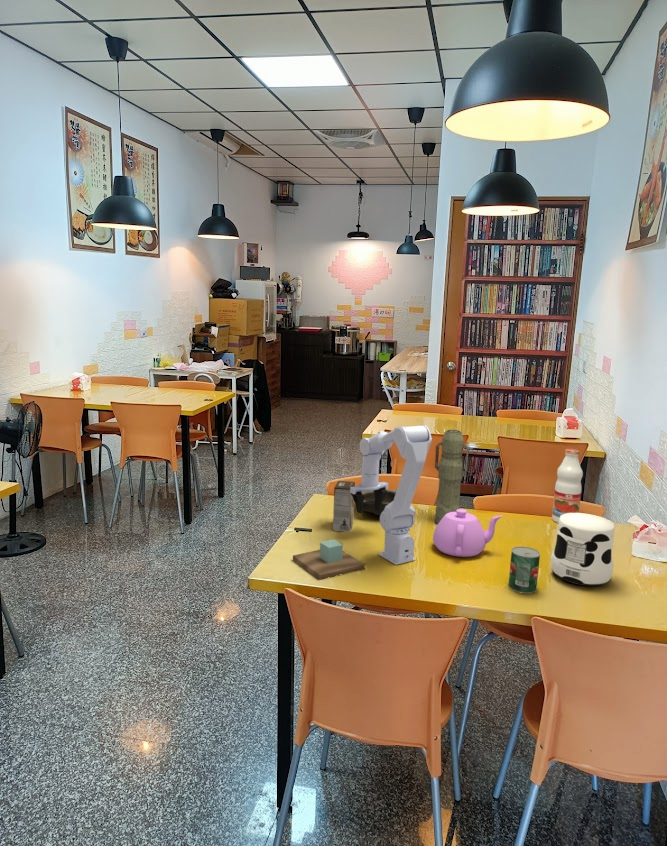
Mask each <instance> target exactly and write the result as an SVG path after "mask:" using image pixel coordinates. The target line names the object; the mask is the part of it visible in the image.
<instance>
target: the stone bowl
mask: <svg viewBox="0 0 667 846" xmlns="http://www.w3.org/2000/svg"><path fill="white" fill-rule="evenodd" d="M385 490H387V491H388V493H387V495H386V496H385V498H384V500H383V502H382V505H381V508H380V510H376V509H375V495H374V490H372V491H366V492H362V495H364V496H365V498H364V501H363V509H362V512H363V511H364V512H368V513H373V514H374V515H379V516H380V515H381V513H382V512H383V511H384V509H385V506H387V505H388V504H390V503H391V502H392V501H394V497H395V494H396V491H397V489H385Z"/></svg>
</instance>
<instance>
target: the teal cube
mask: <svg viewBox="0 0 667 846" xmlns="http://www.w3.org/2000/svg"><path fill="white" fill-rule="evenodd" d="M319 550H320V558H321V559H322V560H324V561H325V562H327V563H328V564H329V563H333V562H337V561H342V554H343V551H344V545H343V544H342V543H340V542H339V541H337V540H336V539H330V540H329V539H328V540H325V541H320V542H319Z"/></svg>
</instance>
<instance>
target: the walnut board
mask: <svg viewBox="0 0 667 846" xmlns="http://www.w3.org/2000/svg"><path fill="white" fill-rule="evenodd" d="M292 561H294V562H295V563H296V564H298V566H299V567H302V569H305V571H307V572H308V573H309V574H311V575H312V576H314V577H315V578H316V579H318V580H319V581H321V580H325V579H328V577H329V578H334V577H337V576H336V575H338V576H341V575H340V574H342V575H345V573H346V574H349V573H353V572H358V571H362V570H365V569H366V563H364V562H362V561H361V560H359V559H358V558H356V557H354V556H353V555H351V554H349V553H348V552H346V551H344V550H343V554H342V561H337V562H333V563H329V564H328V563H327V562H325V561H324V560H322V559H321V558H320V549H318V550H317V549H316V550H313V551H308V552H303V553H299V554H294V555H292ZM333 576H334V577H333Z"/></svg>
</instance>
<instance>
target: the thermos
mask: <svg viewBox="0 0 667 846" xmlns="http://www.w3.org/2000/svg"><path fill="white" fill-rule="evenodd" d="M440 446H441V454H440V455H441V456H440V460H439V453H440ZM464 448H465V449H466V453H465V454H466V455H465V467H464V461H463V451H464ZM469 451H470V448H469V446H468V445H467V444H465V443H464V436H463V432H462V431H460V430H459V429H458V430H457V429H447V430H445V431H444V433H443V436H442V440H441V441H440V442H438V443H437V444H436V446H435V457H434V459H435V460H434V468H435V470H436V471H437V472H438V474H437V477H438V493H437V504H436V507H435V512H434V513H435V515H434V516H435V521H434V522H435V524H436V525H438V523H439V522H440V521H441V519H442V518H443V517H444V516H445V515H446V514H447V513H449V512H456V510H457V509H461V508H460V499H461V497H460V496H461V485H462V484H461V483H462V482H461V481H462V480H463V476H464V475H463V474H467V473H468V472H467V471H468V465H469V453H470V452H469Z"/></svg>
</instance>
